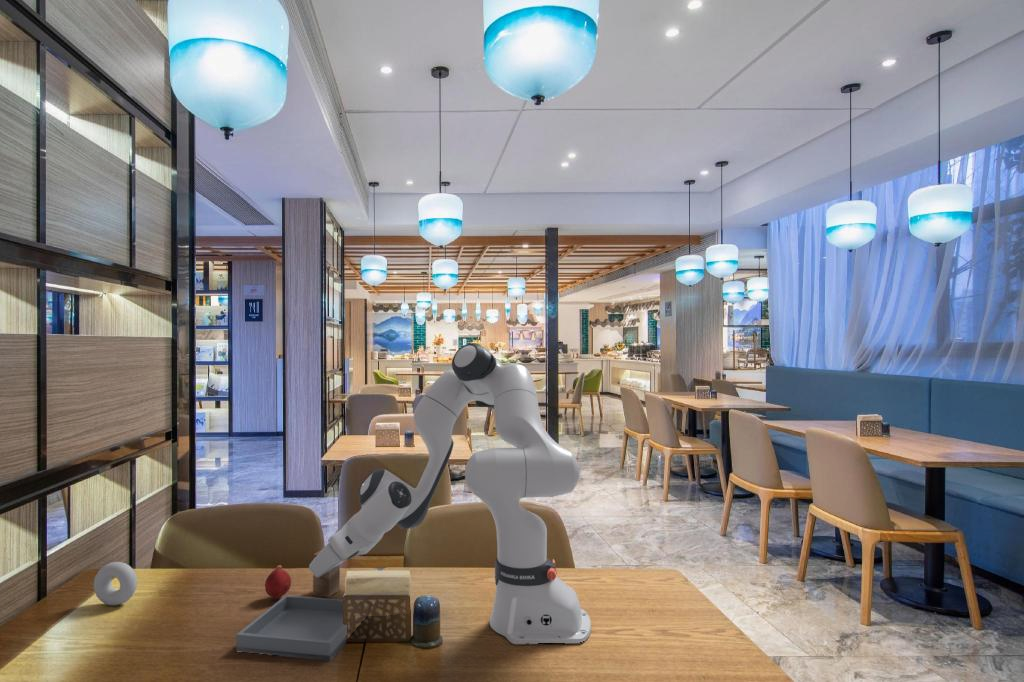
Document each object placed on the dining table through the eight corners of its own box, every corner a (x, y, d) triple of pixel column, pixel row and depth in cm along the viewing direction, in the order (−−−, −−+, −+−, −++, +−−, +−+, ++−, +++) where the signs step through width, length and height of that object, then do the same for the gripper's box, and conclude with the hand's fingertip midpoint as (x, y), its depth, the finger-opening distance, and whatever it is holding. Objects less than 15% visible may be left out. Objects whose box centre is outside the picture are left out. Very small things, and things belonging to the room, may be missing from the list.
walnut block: (339, 590, 139) (339, 550, 139) (328, 597, 135) (329, 556, 135) (324, 587, 140) (324, 548, 140) (312, 595, 136) (313, 554, 136)
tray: (367, 616, 125) (367, 601, 126) (330, 661, 108) (330, 643, 108) (285, 610, 128) (285, 594, 128) (236, 652, 111) (236, 634, 111)
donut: (140, 602, 132) (141, 560, 132) (129, 609, 128) (130, 566, 128) (101, 600, 132) (102, 558, 133) (89, 607, 129) (90, 564, 129)
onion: (272, 606, 130) (273, 572, 130) (260, 599, 133) (260, 566, 134) (295, 598, 135) (295, 565, 135) (282, 591, 138) (283, 559, 138)
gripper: (373, 513, 146) (340, 546, 148) (326, 538, 126) (290, 576, 129) (388, 531, 144) (355, 565, 147) (343, 560, 125) (306, 597, 127)
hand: (324, 570), depth 138 cm, fingers closed on walnut block, 4 cm apart
